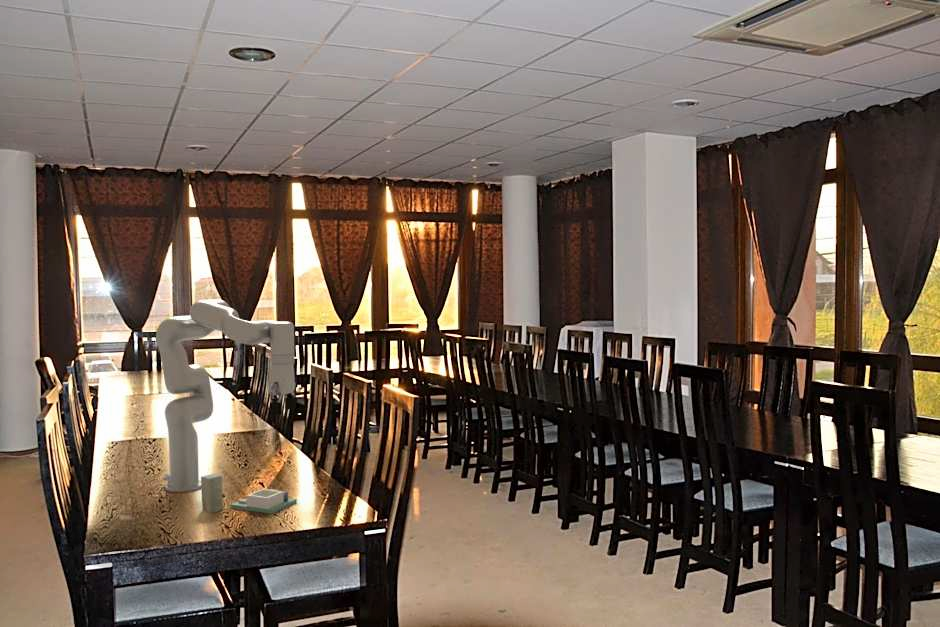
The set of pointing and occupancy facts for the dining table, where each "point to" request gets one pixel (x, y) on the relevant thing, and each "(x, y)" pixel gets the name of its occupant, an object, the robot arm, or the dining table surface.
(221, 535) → the dining table surface
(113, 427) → the dining table surface
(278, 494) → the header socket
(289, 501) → the board
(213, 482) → the box
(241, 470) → the dining table surface
